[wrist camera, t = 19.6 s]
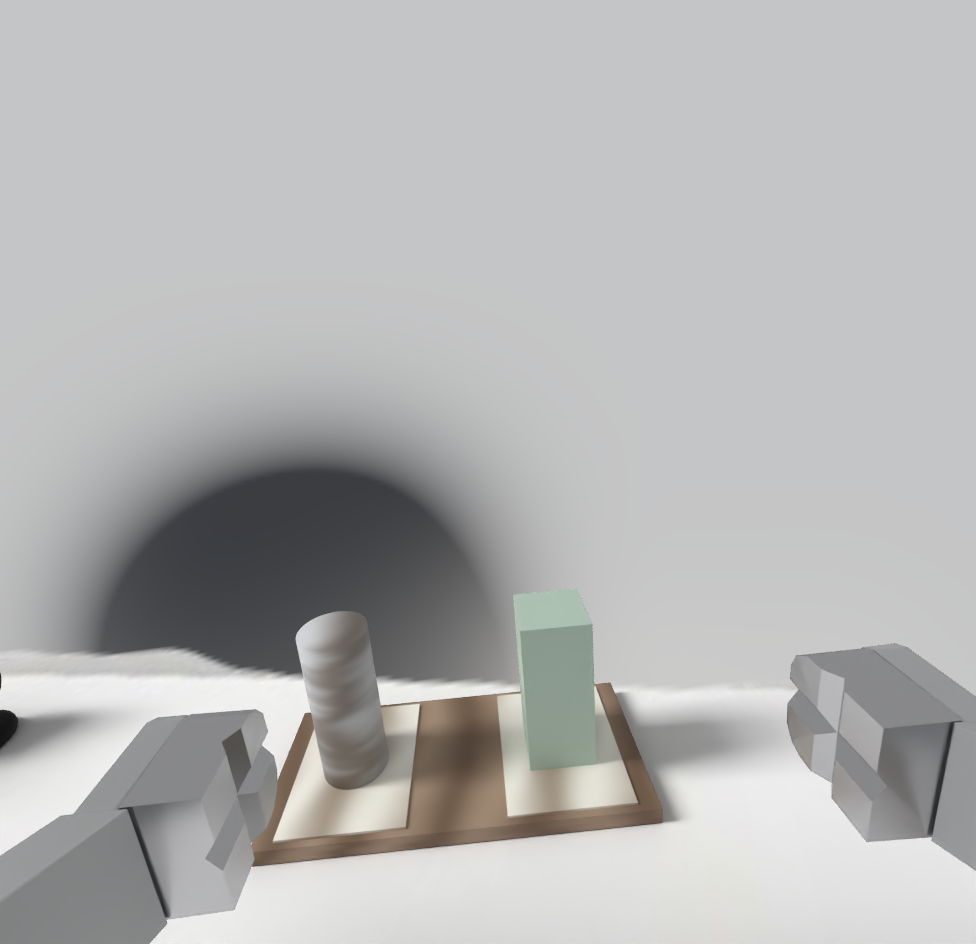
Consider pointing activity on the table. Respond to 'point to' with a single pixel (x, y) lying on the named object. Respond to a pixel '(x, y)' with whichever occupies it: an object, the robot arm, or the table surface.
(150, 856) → the robot arm
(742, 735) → the table surface
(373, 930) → the table surface
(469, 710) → the board
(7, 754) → the table surface
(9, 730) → the webcam
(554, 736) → the sage green tall pillar
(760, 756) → the table surface
